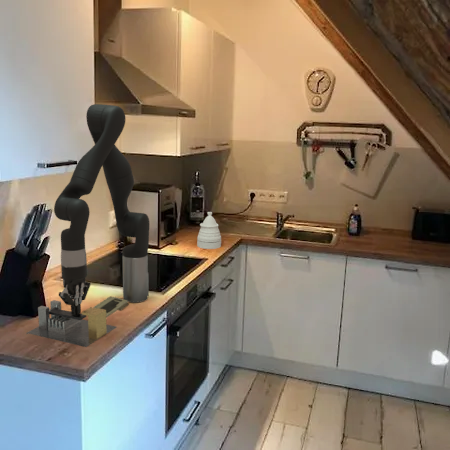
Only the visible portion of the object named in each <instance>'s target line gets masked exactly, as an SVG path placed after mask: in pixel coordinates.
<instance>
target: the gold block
mask: <svg viewBox="0 0 450 450" xmlns="http://www.w3.org/2000/svg"><path fill="white" fill-rule="evenodd" d="M81 314H82V315H86V317H87V320H88V330H89V338H92V339H98V338H100V337H101V338H103V337H104V336H106V335H107V334H108V333H107V331H106V325H107V318H106V310H104V309H99V308H98V309H97V308H93V307H92V306H90V307H89V308H87V309H84V310H83V311H81ZM106 333H107V334H106ZM105 334H106V335H105ZM103 335H104V336H103ZM102 336H103V337H102ZM101 338H100V339H101ZM98 340H99V339H98Z"/></svg>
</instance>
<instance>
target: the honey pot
mask: <svg viewBox="0 0 450 450" xmlns="http://www.w3.org/2000/svg"><path fill="white" fill-rule="evenodd" d="M206 213H207V216H206V217H205V218H204V220H203V222H201V223H200V224H199V226H200V229H199V230H198V231H199V232H198V234H197V242H196V246H197V247H198V248H200V249H203V250H204V249H205V250H215V249H219V248H221V247H222V236H221V232H220V229H219V224H218V223H217V221H216V219H215V218H214V216H212V215H213V212H212V211H207V212H206Z"/></svg>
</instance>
